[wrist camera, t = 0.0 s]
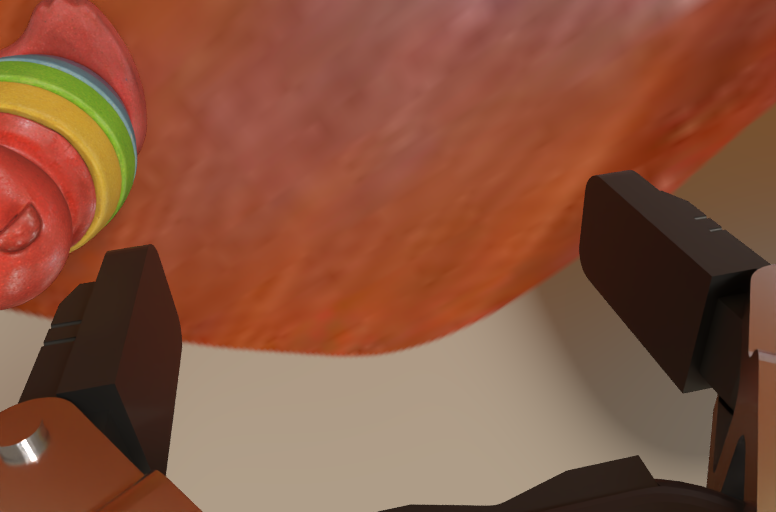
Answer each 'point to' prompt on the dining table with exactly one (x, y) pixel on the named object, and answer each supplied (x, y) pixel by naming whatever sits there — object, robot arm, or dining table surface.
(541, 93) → the dining table surface
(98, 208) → the stacking bear
